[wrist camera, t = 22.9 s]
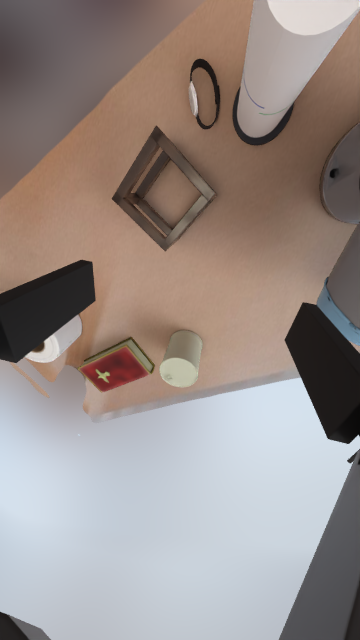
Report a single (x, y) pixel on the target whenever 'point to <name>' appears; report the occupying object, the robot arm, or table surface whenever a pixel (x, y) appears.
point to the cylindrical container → (286, 55)
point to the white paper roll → (57, 342)
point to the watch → (192, 93)
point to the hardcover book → (117, 365)
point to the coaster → (262, 139)
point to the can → (181, 359)
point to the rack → (135, 172)
